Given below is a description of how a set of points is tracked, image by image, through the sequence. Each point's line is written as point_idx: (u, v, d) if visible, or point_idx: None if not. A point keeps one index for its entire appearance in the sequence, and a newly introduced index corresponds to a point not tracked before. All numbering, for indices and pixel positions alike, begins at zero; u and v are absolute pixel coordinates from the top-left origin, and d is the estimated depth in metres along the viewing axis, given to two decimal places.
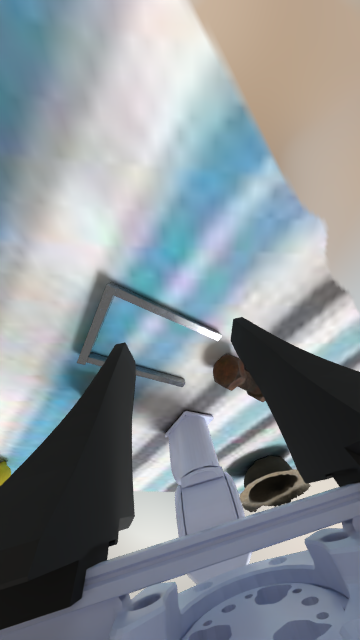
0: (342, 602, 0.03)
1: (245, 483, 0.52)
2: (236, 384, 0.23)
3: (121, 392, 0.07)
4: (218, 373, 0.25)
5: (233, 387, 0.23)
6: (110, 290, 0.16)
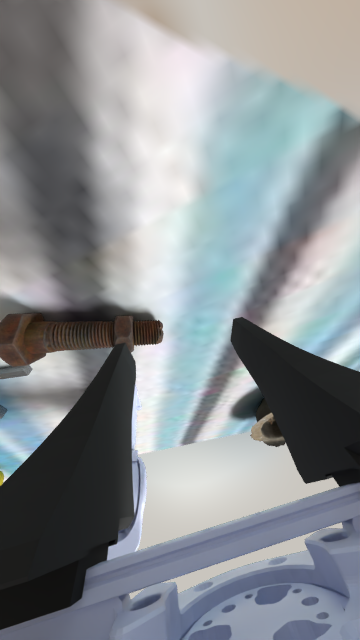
0: (342, 602, 0.03)
1: None
2: (14, 356, 0.14)
3: (121, 392, 0.07)
4: None
5: (18, 361, 0.14)
6: None
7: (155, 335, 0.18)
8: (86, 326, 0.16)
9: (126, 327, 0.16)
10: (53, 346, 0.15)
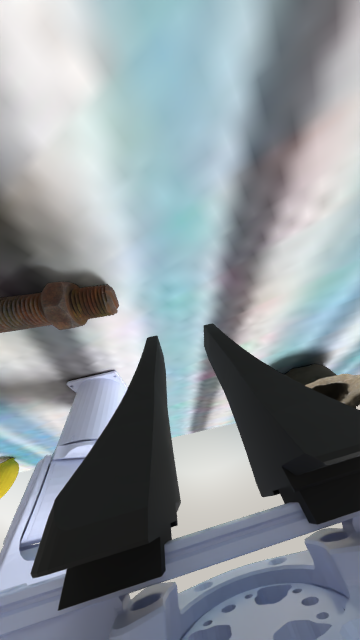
0: (342, 602, 0.03)
1: None
2: None
3: (160, 383, 0.08)
4: None
5: None
6: None
7: (100, 301, 0.14)
8: (11, 300, 0.13)
9: (57, 294, 0.13)
10: None
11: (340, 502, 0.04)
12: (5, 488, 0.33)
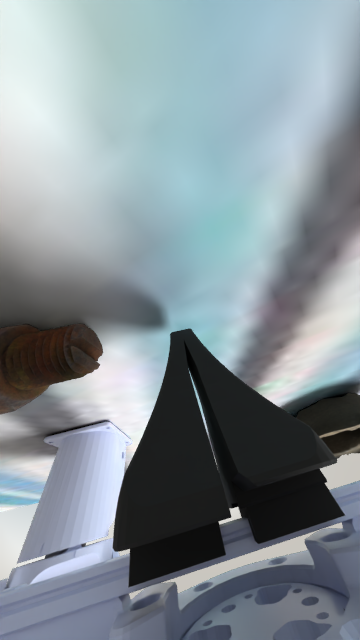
0: (342, 602, 0.03)
1: None
2: None
3: None
4: None
5: None
6: None
7: (61, 362, 0.07)
8: None
9: None
10: None
11: (285, 520, 0.04)
12: None
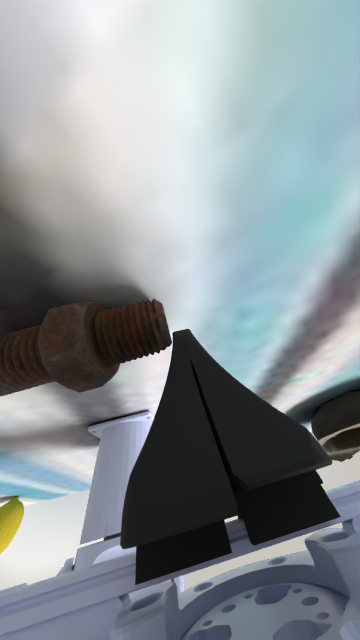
0: (342, 602, 0.03)
1: None
2: None
3: None
4: None
5: None
6: None
7: (148, 334, 0.07)
8: None
9: (69, 331, 0.06)
10: None
11: (281, 521, 0.04)
12: (8, 539, 0.28)
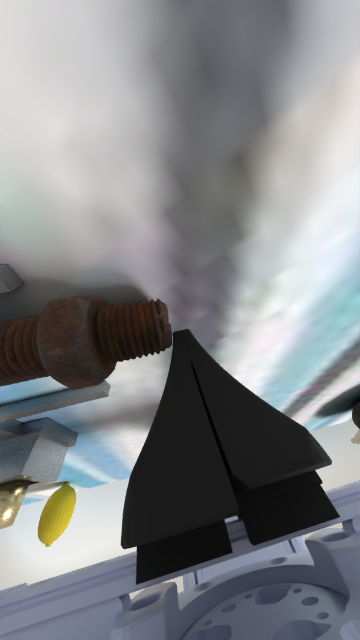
0: (342, 602, 0.03)
1: (355, 423, 0.35)
2: None
3: None
4: None
5: None
6: None
7: (152, 334, 0.07)
8: None
9: (71, 325, 0.06)
10: None
11: (280, 521, 0.04)
12: (67, 521, 0.29)
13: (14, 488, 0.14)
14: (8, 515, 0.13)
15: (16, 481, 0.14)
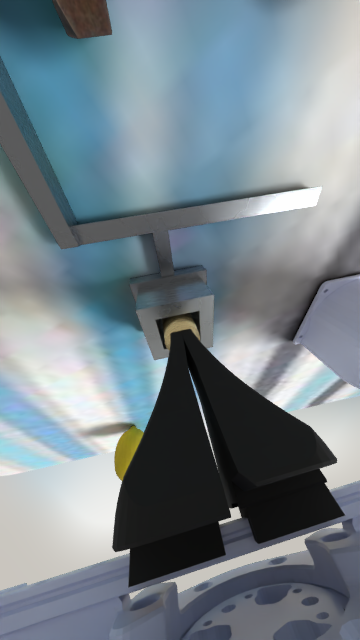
0: (342, 602, 0.03)
1: None
2: None
3: None
4: None
5: None
6: None
7: None
8: None
9: None
10: None
11: (285, 520, 0.04)
12: None
13: None
14: None
15: None
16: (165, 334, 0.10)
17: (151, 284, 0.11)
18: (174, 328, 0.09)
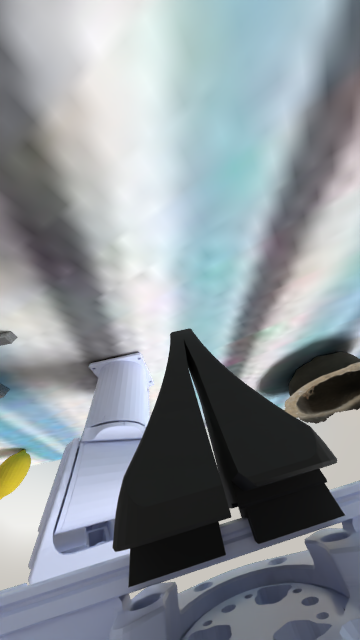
0: (342, 602, 0.03)
1: None
2: None
3: None
4: None
5: None
6: None
7: None
8: None
9: None
10: None
11: (285, 520, 0.04)
12: (18, 480, 0.32)
13: None
14: None
15: None
16: None
17: None
18: None
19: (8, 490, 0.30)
